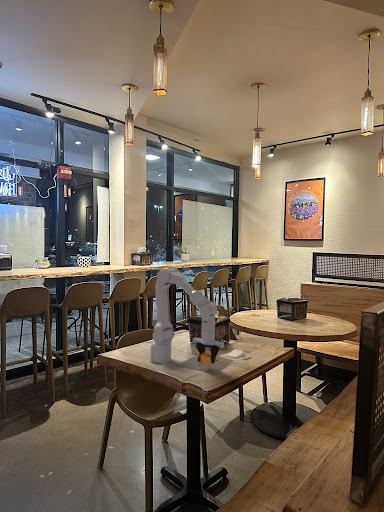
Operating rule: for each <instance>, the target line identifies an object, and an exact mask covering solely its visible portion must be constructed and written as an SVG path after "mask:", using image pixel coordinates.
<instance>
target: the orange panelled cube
mask: <svg viewBox="0 0 384 512" xmlns="http://www.w3.org/2000/svg"><path fill="white" fill-rule="evenodd" d="M201 364H202V365H207V366H211V365H213V364H215V362H214V363H211V351H208V350H207V351H206V350H205V352H203V353H201Z"/></svg>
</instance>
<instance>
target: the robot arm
mask: <svg viewBox="0 0 384 512" xmlns="http://www.w3.org/2000/svg"><path fill="white" fill-rule="evenodd" d="M156 278H157V279H156V281H155V286H154V287H155V302H156V303H155V304H156V321H157V322H156V324H155V325H154V327H153V333H152V339H153V342H152V343H151V345H150V360H149V362H151V363H156V364H160V365H165V364H167V363H169V362H171V361H174V358H172V341H173V339H174V338H175V330H174V327H173V324H172V323H171V322H170V319H169V318H170V317H169V300H168V299H169V297H168V288H169V287H170V286H171V285H172V284H173V285H177V286H178V287H179V288H180V289H182V290H183V291H184V292H185V293H186V294H187V295H189V296H188V297H189V300H190V302H191V303H192V304H193V305H194V306H195V307H196V308H197V309H198V312H199V314H200V316H201V338H200V337H194V338H192V343H193V344H195V348H196V350H197V351H198V353H199V354H200V358H201V353H203V352H205V351H206V347H207V346H211V347H209V350H210V351H209V352H211V363H214V362H215V361H216V359H217V355H218V352H219V350H220V349H223V348H225V342H222V341H220V340H216V339H215V338H216V336H215V335H216V314H217V313H218V305H216V303H215V302H214V301H211V300H210V299H209V298H207V297H206V296H205V295H204V292H202V291H201V290H199V289H196V290H195V288H194V287H193V286H192V285H191V284H190V283H189V281H188V280H187V279H186V278H185V277H184V276H183V273H182V272H181V271H180V270H179V269H177V268H175V267H174V268H162V269H160V270H159V271H158V272H157V273H156Z"/></svg>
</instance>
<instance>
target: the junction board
mask: <svg viewBox="0 0 384 512" xmlns="http://www.w3.org/2000/svg"><path fill="white" fill-rule="evenodd" d="M197 357H198V356H195V355H194V356H192V357H190V358H188V359H185V360H183V361H181V362H180V363H178V364H175V366H176V367H180V368H184V369H189V370H193V371H198V372H203V373H206V374H212V375H216V374H218V373H219V372H222V371H223V370H224V369H226V368H227V367H228V366H230V365H231V363H230V362H224V361H219V360H215V364H213V365H211V366H207V365H202V364H201V361H197Z"/></svg>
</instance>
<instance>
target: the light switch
mask: <svg viewBox="0 0 384 512" xmlns="http://www.w3.org/2000/svg"><path fill="white" fill-rule="evenodd" d="M219 357H221V358H225V359H228V360H232V361H235V362H239V361H240V360H242V361H247V360H249V359H252V356H250V355H247V354H245V353H244V350H239V349H233V350H232V351H230V352H228V353H224V354H221V355H219Z"/></svg>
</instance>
